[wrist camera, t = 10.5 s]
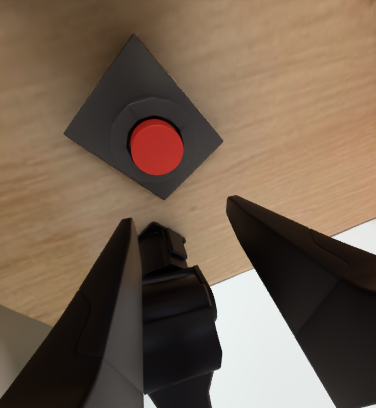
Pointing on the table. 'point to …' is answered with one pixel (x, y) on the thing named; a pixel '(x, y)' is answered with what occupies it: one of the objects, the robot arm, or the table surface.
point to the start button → (156, 147)
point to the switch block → (141, 118)
